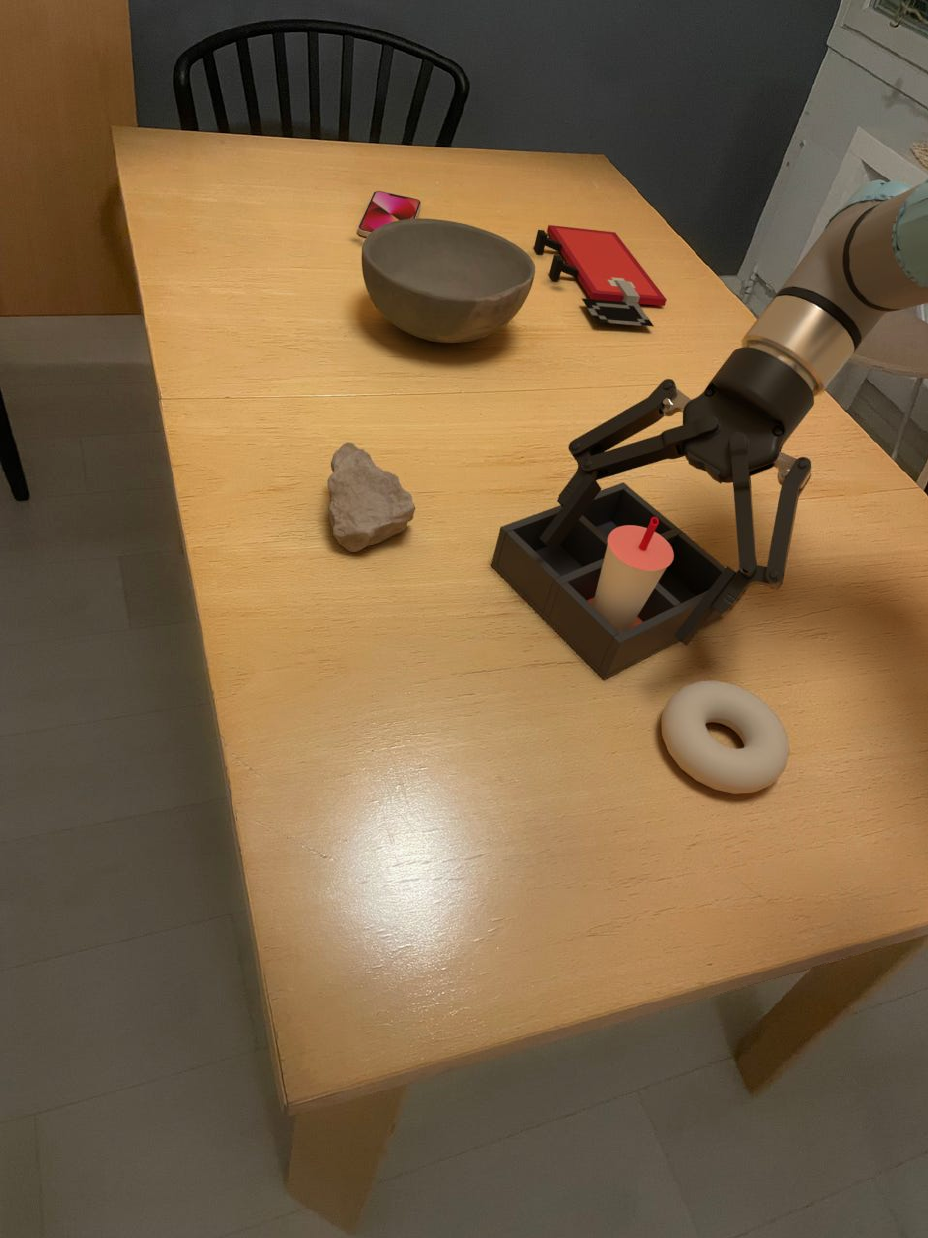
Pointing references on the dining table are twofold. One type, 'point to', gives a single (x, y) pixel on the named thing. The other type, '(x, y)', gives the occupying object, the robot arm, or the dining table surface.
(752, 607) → the dining table surface
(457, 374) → the dining table surface
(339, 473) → the stone
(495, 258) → the bowl
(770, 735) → the donut
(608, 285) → the red board with handle
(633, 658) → the grid
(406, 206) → the smartphone
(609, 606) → the cup
